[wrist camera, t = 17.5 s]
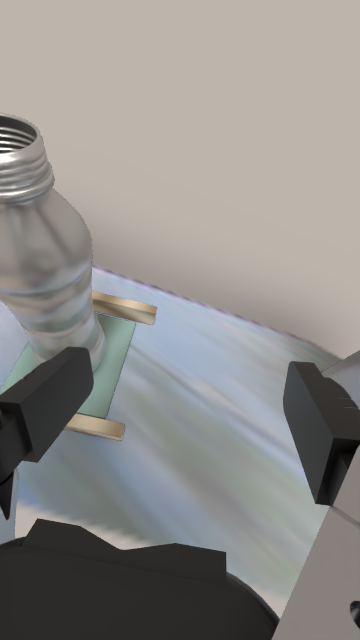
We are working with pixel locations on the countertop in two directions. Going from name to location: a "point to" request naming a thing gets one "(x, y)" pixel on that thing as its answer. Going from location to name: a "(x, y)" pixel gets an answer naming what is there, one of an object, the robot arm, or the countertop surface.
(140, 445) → the countertop surface
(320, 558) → the robot arm
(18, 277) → the plastic bottle
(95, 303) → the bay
